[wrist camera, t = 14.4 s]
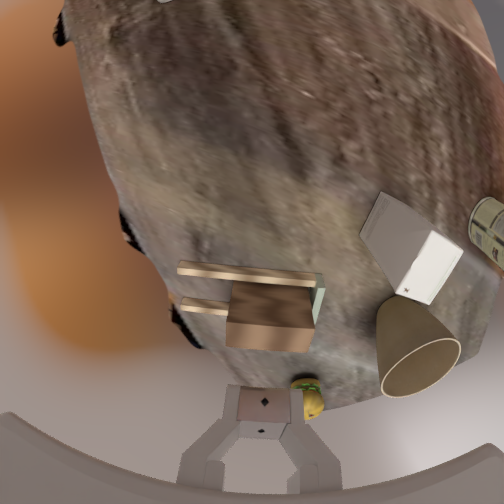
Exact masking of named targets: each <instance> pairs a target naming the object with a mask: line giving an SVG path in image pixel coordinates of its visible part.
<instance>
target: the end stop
mask: <svg viewBox="0 0 504 504" xmlns="http://www.w3.org/2000/svg"><path fill="white" fill-rule="evenodd" d="M315 277H316V285H315V287H311V290H310V294H309V297H310V302H311V308H312V313H313V319H314V324H315V323H316V320H317V316H318V313H319V310H320V306H321V303H322V299H323V296H324V292H325V289H326V288H325V284H324V281H323V277H322V274H316V273H315Z"/></svg>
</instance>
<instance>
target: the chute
mask: <svg viewBox="0 0 504 504" xmlns="http://www.w3.org/2000/svg"><path fill="white" fill-rule="evenodd" d="M177 271H178V274H183V275H191V276H200V277H209V278H219V279H228V280H238V281H249V282H259V283H270V284H281V285H293V286H305V287H315V285H316V277H315V273H304V272H293V271H281V270H271V269H260V268H249V267H239V266H229V265H219V264H209V263H199V262H190V261H180V263H179V265H178V267H177ZM229 305H230V303H228V302H219V301H211V300H202V299H194V298H186V297H184V298H183V300H182V303H181V310H185V311H192V312H200V313H208V314H216V315H225V316H227V315H228V310H229Z"/></svg>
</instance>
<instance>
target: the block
mask: <svg viewBox="0 0 504 504" xmlns="http://www.w3.org/2000/svg"><path fill="white" fill-rule="evenodd" d="M314 332H315V324H314V319H313V313H312V308H311V302H310V297H309V292H308V287H305V286H293V285H281V284H270V283H259V282H249V281H238V280H234V284H233V289H232V294H231V299H230V305H229V310H228V315H227V321H226V346H228V347H237V348H247V349H258V350H270V351H286V352H308V349H309V347H310V344H311V341H312V338H313V335H314Z"/></svg>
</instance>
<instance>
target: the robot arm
mask: <svg viewBox="0 0 504 504" xmlns="http://www.w3.org/2000/svg"><path fill="white" fill-rule="evenodd" d="M157 1H158V2H160V3H165V2H168V1H172V0H157ZM239 394H240V395H239ZM238 438H256V439H271V440H279V442H280V443H281V445H282V446H283V448H284V449H285V451H286V453H287V454H288V456H289V457H290V459H291V460H292V462H293V463H294V464H295V466H296V468H297V469H298V470H297V471H296V472H295V473H294V474H293V475H292V476H291V477H290V478H289V479H288V480H287V494H248V493H235V492H225V491H224V483H225V464H224V463H223V462H222V461H220V460H221V459H222V457H223V456H224V455H225V454H226V453H227V452H228V451H229V449H230V448H231V447H232V446H233V445H234V444H235V442H236V441H237V440H238ZM0 504H504V453H503V452H502V451H501V450H500V449H499V448H497V447H496V446H495V445H493V444H491V443H486V444H484V445H482V446H480V447H478V448H476V449H474V450H472V451H470V452H468V453H466V454H464V455H461V456H459V457H457V458H455V459H452V460H450V461H447V462H445V463H443V464H440V465H438V466H435V467H432V468H429V469H426V470H423V471H421V472H417V473H415V474H411V475H408V476H405V477H401V478H397V479H394V480H390V481H386V482H381V483H378V484H372V485H368V486H362V487H357V488H351V489H344V490H343V488H342V477H341V466H340V461H339V460H338V459H337V457H336V456H335V455H334V454H333V453H332V452H331V450H330V449H329V448H328V447H327V446H326V445H325V443H324V442H323V441H322V440H321V439H320V438H319V436H318V435H317V434H316V433H315V431H314V430H313V429H312V428H311V426H310V425H309V424H305V418H304V404H303V392H302V390H301V389H289V388H262V387H250V386H240V385H231V384H228V385H227V390H226V396H225V403H224V411H223V417H222V419H218V420H217V421H216V422H215V423H214V424H213V425H212V426H211V427H210V428H209V429H208V430H207V431H206V432H205V433H204V434H203V435H202V436H201V437H200V438H199V439H198V440H197V441H196V442H194V443H193V444H192V445H191V446H190V447H189V448H188V449H187V450H186V451H185V452H184V453H183V454H182V457H181V462H180V467H179V471H178V476H177V481H176V483H172V482H167V481H163V480H159V479H156V478H152V477H148V476H145V475H141V474H138V473H135V472H132V471H129V470H126V469H123V468H120V467H117V466H114V465H112V464H109V463H107V462H104V461H102V460H99V459H97V458H94V457H92V456H89V455H87V454H85V453H83V452H81V451H79V450H76V449H74V448H72V447H70V446H68V445H66V444H64V443H62V442H60V441H59V440H57V439H55V438H53V437H51V436H49V435H48V434H46V433H44V432H42V431H41V430H39V429H37V428H36V427H34V426H33V425H31V424H29V423H28V422H26V421H25V420H23V419H22V418H20V417H19V416H17V415H16V414H14V413H12V412H5V413H2V414H0Z"/></svg>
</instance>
